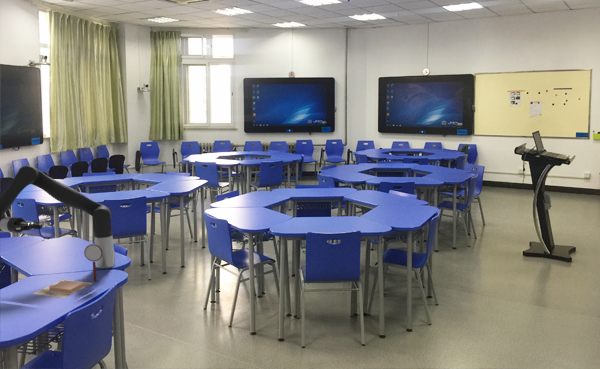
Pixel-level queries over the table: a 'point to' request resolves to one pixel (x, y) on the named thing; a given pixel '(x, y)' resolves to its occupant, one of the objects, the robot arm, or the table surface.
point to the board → (57, 294)
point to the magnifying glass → (93, 255)
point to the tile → (67, 286)
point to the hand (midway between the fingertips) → (41, 226)
